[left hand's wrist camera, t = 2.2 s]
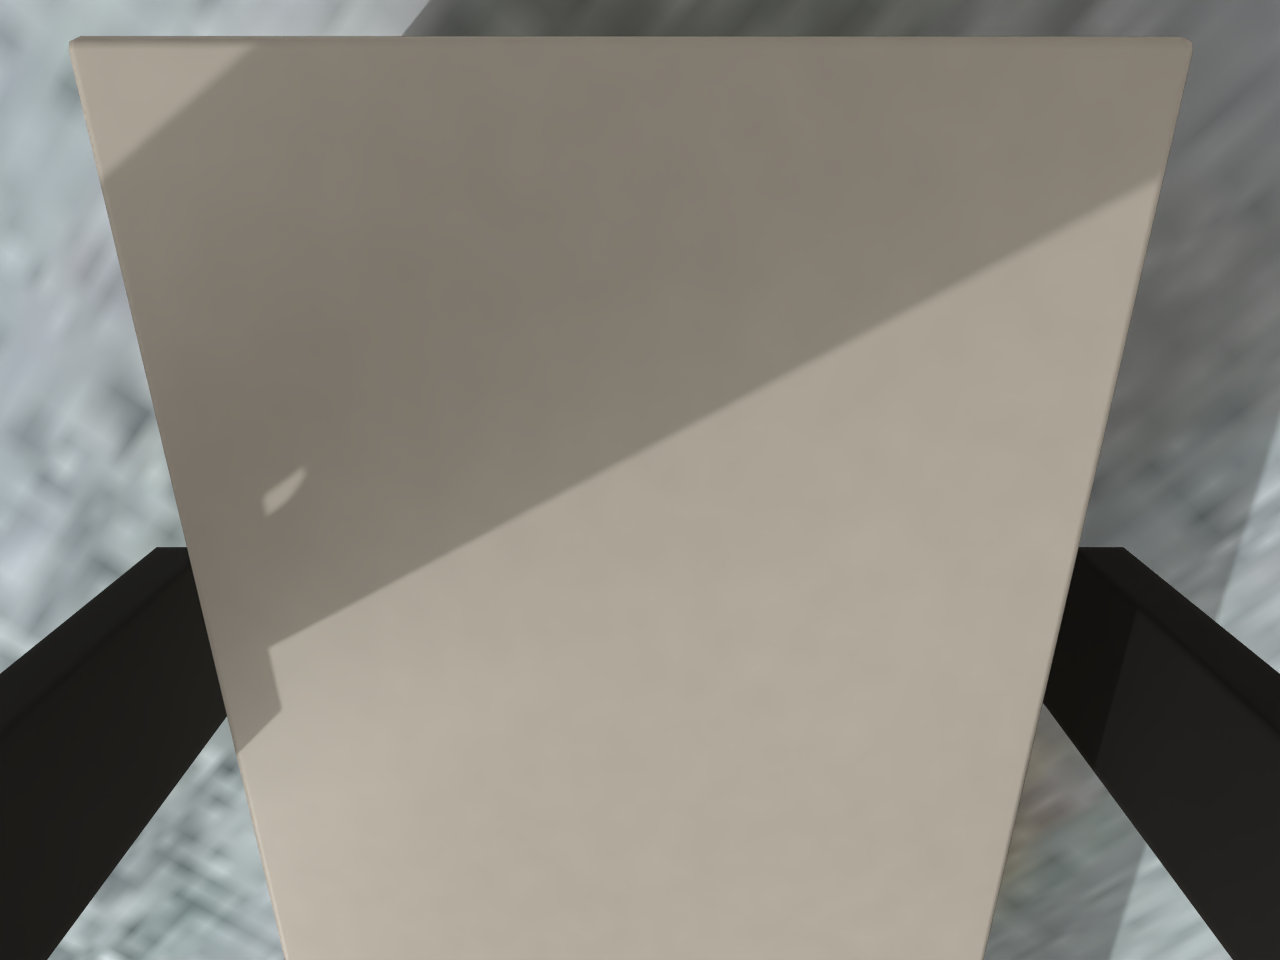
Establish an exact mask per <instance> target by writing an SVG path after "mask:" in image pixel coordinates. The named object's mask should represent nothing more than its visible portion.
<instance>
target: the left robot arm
mask: <svg viewBox="0 0 1280 960" xmlns="http://www.w3.org/2000/svg"><path fill="white" fill-rule="evenodd" d="M1043 703H1044V704H1045V706H1046V707H1047V709H1048V710H1049V711H1050V713H1051V714H1052V715H1053V717H1054V718H1055V719H1056V721H1057V722H1058V723H1059V725H1060V726H1061V727H1062V729H1063V730H1064V732H1065V733H1066V734H1067V736H1068V737H1069V738H1070V740H1071V741H1072V742H1073V744H1074V745H1075V746H1076V748H1077V749H1078V751H1079V752H1080V753H1081V755H1082V756H1083V757H1084V759H1085V760H1086V761H1087V763H1088V764H1089V765H1090V767H1091V768H1092V769H1093V771H1094V772H1095V774H1096V775H1097V776H1098V778H1099V779H1100V780H1101V782H1102V783H1103V784H1104V786H1105V787H1106V788H1107V790H1108V791H1109V793H1110V794H1111V795H1112V797H1113V798H1114V799H1115V801H1116V802H1117V803H1118V805H1119V806H1120V807H1121V809H1122V810H1123V811H1124V813H1125V814H1126V816H1127V817H1128V818H1129V820H1130V821H1131V822H1132V824H1133V825H1134V826H1135V828H1136V829H1137V830H1138V832H1139V833H1140V835H1141V836H1142V837H1143V839H1144V840H1145V841H1146V843H1147V844H1148V845H1149V847H1150V848H1151V849H1152V851H1153V852H1154V853H1155V855H1156V856H1157V858H1158V859H1159V860H1160V862H1161V863H1162V864H1163V866H1164V867H1165V868H1166V870H1167V871H1168V872H1169V874H1170V875H1171V877H1172V878H1173V879H1174V881H1175V882H1176V883H1177V885H1178V886H1179V887H1180V889H1181V890H1182V891H1183V893H1184V894H1185V895H1186V897H1187V898H1188V900H1189V901H1190V902H1191V904H1192V905H1193V906H1194V908H1195V909H1196V910H1197V912H1198V913H1199V914H1200V916H1201V917H1202V919H1203V920H1204V921H1205V923H1206V924H1207V925H1208V927H1209V928H1210V929H1211V931H1212V932H1213V933H1214V935H1215V936H1216V937H1217V939H1218V940H1219V942H1220V943H1221V944H1222V946H1223V947H1224V948H1225V950H1226V951H1227V952H1228V954H1229V955H1230V956H1231V958H1232V959H1233V960H1280V674H1279V673H1278V672H1277V671H1276V670H1274V669H1273V668H1272V667H1271V666H1269V665H1268V664H1267V663H1266V662H1264V661H1263V660H1262V659H1261V658H1259V657H1258V656H1257V655H1256V654H1255V653H1253V652H1252V651H1251V650H1250V649H1248V648H1247V647H1246V646H1245V645H1243V644H1242V643H1241V642H1240V641H1238V640H1237V639H1236V638H1235V637H1234V636H1232V635H1231V634H1230V633H1229V632H1227V631H1226V630H1225V629H1224V628H1222V627H1221V626H1220V625H1219V624H1217V623H1216V622H1215V621H1214V620H1213V619H1211V618H1210V617H1209V616H1208V615H1206V614H1205V613H1204V612H1203V611H1201V610H1200V609H1199V608H1198V607H1196V606H1195V605H1194V604H1193V603H1191V602H1190V601H1189V600H1188V599H1187V598H1185V597H1184V596H1183V595H1182V594H1180V593H1179V592H1178V591H1177V590H1175V589H1174V588H1173V587H1172V586H1170V585H1169V584H1168V583H1167V582H1166V581H1164V580H1163V579H1162V578H1161V577H1159V576H1158V575H1157V574H1156V573H1154V572H1153V571H1152V570H1151V569H1149V568H1148V567H1147V566H1146V565H1145V564H1143V563H1142V562H1141V561H1140V560H1138V559H1137V558H1136V557H1135V556H1133V555H1132V554H1131V553H1130V552H1128V551H1127V550H1126V549H1125V548H1123V547H1078V551H1077V556H1076V560H1075V564H1074V569H1073V573H1072V577H1071V582H1070V586H1069V590H1068V595H1067V599H1066V603H1065V608H1064V612H1063V616H1062V621H1061V625H1060V630H1059V634H1058V638H1057V643H1056V647H1055V651H1054V656H1053V660H1052V664H1051V669H1050V673H1049V677H1048V682H1047V686H1046V690H1045V695H1044V699H1043ZM226 717H227V713H226V709H225V705H224V701H223V696H222V692H221V688H220V684H219V680H218V675H217V671H216V667H215V663H214V659H213V654H212V650H211V646H210V642H209V638H208V633H207V629H206V625H205V621H204V617H203V612H202V608H201V604H200V600H199V596H198V591H197V587H196V583H195V579H194V575H193V570H192V566H191V562H190V558H189V553H188V549H187V547H157V548H155V549H154V550H153V551H152V552H150V553H149V554H148V555H147V556H145V557H144V558H143V559H142V560H140V561H139V562H138V563H137V564H135V565H134V566H133V567H132V568H131V569H129V570H128V571H127V572H126V573H124V574H123V575H122V576H121V577H119V578H118V579H117V580H116V581H114V582H113V583H112V584H111V585H110V586H108V587H107V588H106V589H105V590H103V591H102V592H101V593H100V594H98V595H97V596H96V597H95V598H93V599H92V600H91V601H90V602H89V603H87V604H86V605H85V606H84V607H82V608H81V609H80V610H79V611H77V612H76V613H75V614H74V615H72V616H71V617H70V618H69V619H67V620H66V621H65V622H64V623H63V624H61V625H60V626H59V627H58V628H56V629H55V630H54V631H53V632H51V633H50V634H49V635H48V636H46V637H45V638H44V639H43V640H42V641H40V642H39V643H38V644H37V645H35V646H34V647H33V648H32V649H30V650H29V651H28V652H27V653H25V654H24V655H23V656H22V657H21V658H19V659H18V660H17V661H16V662H14V663H13V664H12V665H11V666H9V667H8V668H7V669H6V670H4V671H3V672H2V673H1V674H0V960H47V959H48V958H49V956H50V955H51V954H52V952H53V951H54V950H55V948H56V947H57V946H58V944H59V943H60V942H61V940H62V939H63V937H64V936H65V935H66V933H67V932H68V931H69V929H70V928H71V927H72V925H73V924H74V923H75V921H76V920H77V919H78V917H79V916H80V914H81V913H82V912H83V910H84V909H85V908H86V906H87V905H88V904H89V902H90V901H91V900H92V898H93V897H94V895H95V894H96V893H97V891H98V890H99V889H100V887H101V886H102V885H103V883H104V882H105V881H106V879H107V878H108V877H109V875H110V874H111V872H112V871H113V870H114V868H115V867H116V866H117V864H118V863H119V862H120V860H121V859H122V858H123V856H124V855H125V853H126V852H127V851H128V849H129V848H130V847H131V845H132V844H133V843H134V841H135V840H136V839H137V837H138V836H139V835H140V833H141V832H142V830H143V829H144V828H145V826H146V825H147V824H148V822H149V821H150V820H151V818H152V817H153V816H154V814H155V813H156V811H157V810H158V809H159V807H160V806H161V805H162V803H163V802H164V801H165V799H166V798H167V797H168V795H169V794H170V793H171V791H172V790H173V788H174V787H175V786H176V784H177V783H178V782H179V780H180V779H181V778H182V776H183V775H184V774H185V772H186V771H187V769H188V768H189V767H190V765H191V764H192V763H193V761H194V760H195V759H196V757H197V756H198V755H199V753H200V752H201V751H202V749H203V748H204V746H205V745H206V744H207V742H208V741H209V740H210V738H211V737H212V736H213V734H214V733H215V732H216V730H217V729H218V727H219V726H220V725H221V723H222V722H223V721H224V719H225V718H226Z"/></svg>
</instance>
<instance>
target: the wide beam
mask: <svg viewBox="0 0 1280 960" xmlns="http://www.w3.org/2000/svg"><path fill="white" fill-rule="evenodd" d="M1192 52H1193V47H1192V42H1191V41H1189V40H1187V39H1185V38H1183V37H788V36H80V37H78V38H76V39H74V40H72V41H70V42H69V53H70V57H71V62H72V66H73V70H74V74H75V78H76V83H77V87H78V91H79V95H80V99H81V104H82V108H83V112H84V116H85V121H86V125H87V129H88V133H89V137H90V142H91V146H92V150H93V154H94V158H95V163H96V167H97V171H98V175H99V179H100V184H101V188H102V192H103V196H104V200H105V205H106V209H107V213H108V217H109V221H110V226H111V230H112V234H113V238H114V242H115V247H116V251H117V255H118V259H119V263H120V268H121V272H122V276H123V280H124V284H125V289H126V293H127V297H128V301H129V305H130V310H131V314H132V318H133V322H134V326H135V331H136V335H137V339H138V343H139V348H140V352H141V356H142V360H143V364H144V369H145V373H146V377H147V381H148V385H149V390H150V394H151V398H152V402H153V406H154V411H155V415H156V419H157V423H158V427H159V432H160V436H161V440H162V444H163V448H164V453H165V457H166V461H167V465H168V469H169V474H170V478H171V482H172V486H173V490H174V495H175V499H176V503H177V507H178V511H179V516H180V520H181V524H182V528H183V532H184V537H185V541H186V545H187V549H188V553H189V558H190V562H191V566H192V570H193V575H194V579H195V583H196V587H197V591H198V596H199V600H200V604H201V608H202V612H203V617H204V621H205V625H206V629H207V633H208V638H209V642H210V646H211V650H212V654H213V659H214V663H215V667H216V671H217V675H218V680H219V684H220V688H221V692H222V696H223V701H224V705H225V709H226V713H227V717H228V722H229V726H230V730H231V734H232V738H233V743H234V747H235V751H236V755H237V759H238V764H239V768H240V772H241V776H242V780H243V785H244V789H245V793H246V797H247V802H248V806H249V810H250V814H251V818H252V823H253V827H254V831H255V835H256V839H257V844H258V848H259V852H260V856H261V860H262V865H263V869H264V873H265V877H266V881H267V886H268V890H269V894H270V898H271V902H272V907H273V911H274V915H275V919H276V923H277V928H278V932H279V936H280V940H281V944H282V949H283V953H284V957H285V960H984V955H985V951H986V947H987V942H988V938H989V933H990V929H991V925H992V920H993V916H994V912H995V907H996V903H997V899H998V894H999V890H1000V886H1001V881H1002V877H1003V873H1004V868H1005V864H1006V860H1007V855H1008V851H1009V847H1010V842H1011V838H1012V834H1013V829H1014V825H1015V821H1016V816H1017V812H1018V808H1019V803H1020V799H1021V795H1022V790H1023V786H1024V782H1025V777H1026V773H1027V768H1028V764H1029V760H1030V755H1031V751H1032V747H1033V742H1034V738H1035V734H1036V729H1037V725H1038V721H1039V716H1040V712H1041V708H1042V703H1043V699H1044V695H1045V690H1046V686H1047V682H1048V677H1049V673H1050V669H1051V664H1052V660H1053V656H1054V651H1055V647H1056V643H1057V638H1058V634H1059V630H1060V625H1061V621H1062V616H1063V612H1064V608H1065V603H1066V599H1067V595H1068V590H1069V586H1070V582H1071V577H1072V573H1073V569H1074V564H1075V560H1076V556H1077V551H1078V547H1079V543H1080V538H1081V534H1082V530H1083V525H1084V521H1085V517H1086V512H1087V508H1088V504H1089V499H1090V495H1091V491H1092V486H1093V482H1094V478H1095V473H1096V469H1097V465H1098V460H1099V456H1100V451H1101V447H1102V443H1103V438H1104V434H1105V430H1106V425H1107V421H1108V417H1109V412H1110V408H1111V404H1112V399H1113V395H1114V391H1115V386H1116V382H1117V378H1118V373H1119V369H1120V365H1121V360H1122V356H1123V352H1124V347H1125V343H1126V339H1127V334H1128V330H1129V326H1130V321H1131V317H1132V313H1133V308H1134V304H1135V299H1136V295H1137V291H1138V286H1139V282H1140V278H1141V273H1142V269H1143V265H1144V260H1145V256H1146V252H1147V247H1148V243H1149V239H1150V234H1151V230H1152V226H1153V221H1154V217H1155V213H1156V208H1157V204H1158V200H1159V195H1160V191H1161V187H1162V182H1163V178H1164V174H1165V169H1166V165H1167V161H1168V156H1169V152H1170V147H1171V143H1172V139H1173V134H1174V130H1175V126H1176V121H1177V117H1178V113H1179V108H1180V104H1181V100H1182V95H1183V91H1184V87H1185V82H1186V78H1187V74H1188V69H1189V65H1190V61H1191V56H1192Z"/></svg>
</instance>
